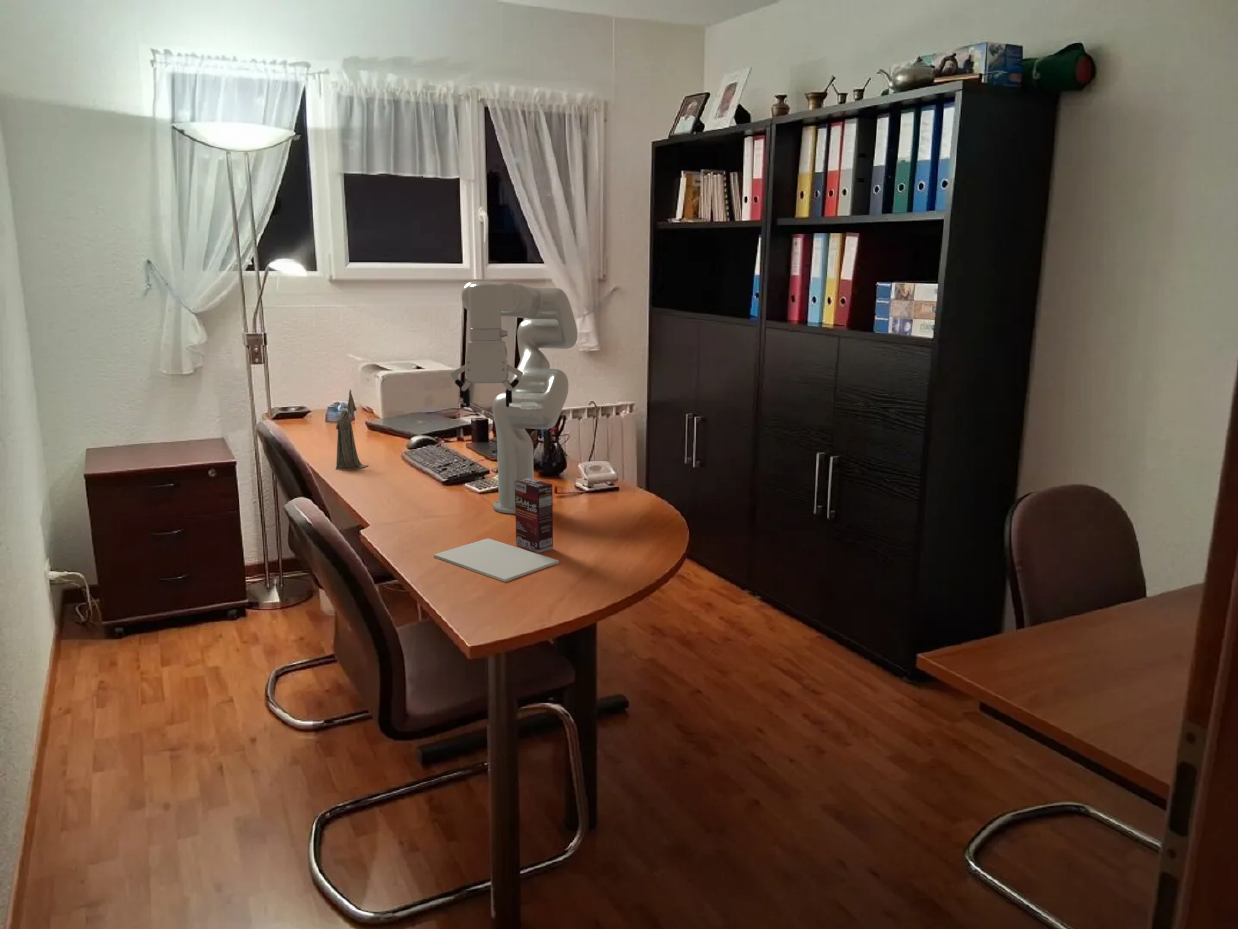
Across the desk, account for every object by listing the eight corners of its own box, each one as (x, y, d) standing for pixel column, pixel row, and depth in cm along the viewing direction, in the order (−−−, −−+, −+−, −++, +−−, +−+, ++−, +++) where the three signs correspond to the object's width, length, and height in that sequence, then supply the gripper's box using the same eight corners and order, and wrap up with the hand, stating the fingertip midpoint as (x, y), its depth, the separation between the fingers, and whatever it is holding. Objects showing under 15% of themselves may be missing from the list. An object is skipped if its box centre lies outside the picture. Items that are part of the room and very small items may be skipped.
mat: (487, 540, 215) (487, 538, 215) (558, 563, 200) (558, 560, 200) (433, 557, 204) (433, 554, 203) (504, 582, 188) (504, 579, 188)
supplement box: (514, 545, 212) (513, 480, 208) (530, 541, 215) (529, 476, 212) (538, 554, 206) (537, 487, 202) (554, 549, 209) (553, 483, 206)
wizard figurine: (361, 462, 295) (355, 387, 290) (371, 467, 289) (365, 389, 283) (330, 466, 289) (324, 389, 284) (339, 471, 283) (333, 392, 277)
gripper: (522, 334, 219) (524, 403, 223) (451, 334, 218) (453, 404, 222) (521, 337, 212) (523, 408, 216) (447, 337, 210) (450, 409, 214)
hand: (487, 406), depth 219 cm, fingers open, 9 cm apart
